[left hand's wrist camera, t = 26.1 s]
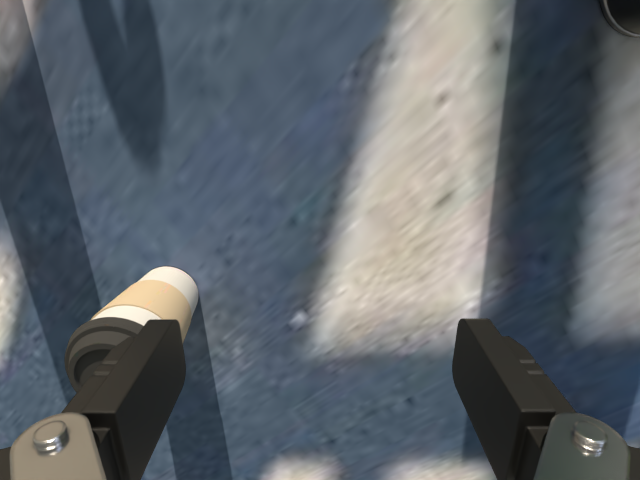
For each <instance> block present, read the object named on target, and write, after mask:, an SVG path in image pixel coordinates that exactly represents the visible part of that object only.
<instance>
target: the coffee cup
mask: <svg viewBox="0 0 640 480" xmlns="http://www.w3.org/2000/svg"><path fill="white" fill-rule="evenodd" d="M198 297H199V295H198V289H197V286H196V284H195V282H194V281H193V279H192V278H191V277H190V276H189V275H188V274H186V273H185V272H183V271H182V270H179V269H177V268H173V267H159V268H156V269H153V270H151V271H150V272H149V273H147V274H146V275H145V276H144V277H143V278H141V279H140V280H139V281H138V282H137V283H135V284H133V285H131V286H130V287H129V288H127V289H126V290H125V291H124V292H122V293H121V294H120V295H119V296H118V297H116V298H115V299H114V300H113V301H111V302H110V303H109V304H108V305H106V306H105V307H104V308H103V309H101V310H100V311H99V312H98V313H97V314H95V315H94V316H93V317H92V319H91V320H90V321H88V322H86V323H84V324H83V325H81V326H80V327H79V328H78V329H76V330H75V332H74V333H73V334H72V336H71V338H70V340H69V342H68V346H67V349H66V353H65V368H66V372H67V375H68V377H69V380H70V383H71V385H72V387H73V388H74V390H75V391H76V392H78V391H79V390H80V389H81V387H82V386H83V385H84V384H85V382H86V381H87V380H88V378H89V377H90V376H91V375H93V372H94V371H95V370H96V368H97V367H98V366H99V365H100V364H102V361H103V360H104V358H105V357H106V356H107V354H108V353H109V352H110V351H111V349H112V348H114V347H115V346H117V345H118V344H119V343H121V342H122V341H124V340H125V339H127V338H128V337H136V336H137V335H138V333H139V332H140V330H141V329H142V328H143V326H144V325H145V324H146V322H147V321H148V320H150V319H176V320H178V322H179V324H180V329H181V336H182V343H183V342H184V339H185V337H186V334H187V331H188V328H189V326H190V323H191V318H192V316H193V313H194V311H195V308H196V305H197V303H198Z"/></svg>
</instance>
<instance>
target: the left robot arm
mask: <svg viewBox="0 0 640 480" xmlns="http://www.w3.org/2000/svg"><path fill="white" fill-rule="evenodd" d="M600 5H601V9H602V12H603V14H604V16H605V18H606V20H607V21H608V23H609V24H610V25H611V26H612V27H613V28H614V29H615V30H617V31H618V32H620V33H621V34H624V35H626V36H630V37H640V0H600ZM185 373H186V364H185V357H184V350H183V343H182V336H181V329H180V324H179V322H178V320H176V319H150V320H148V321H147V322H146V324H145V325H144V326H143V328H142V329H141V330H140V332H139V333H138V335H137V336H136V337H128V338H127V339H125V340H124V341H122V342H121V343H119V344H118V345H117V346H115V347H114V348H112V349H111V351H110V352H109V353H108V354H107V356H106V357H105V358H104V360H103V361H102V364H100V365H99V366H98V367H97V368H96V370H95V371H94V372H93V375H91V376H90V377H89V378H88V380H87V381H86V382H85V384H84V385H83V386H82V387H81V389H80V390H79V391H78V392H77V394H76V395H75V396H74V397H73V399H72V400H71V401H70V402H69V404H68V405H67V406H66V407H65V409H64V410H63V411H62V413H60V414H56V415H53V416H50V417H47V418H45V419H43V420H41V421H39V422H37V423H35V424H33V425H32V426H30V427H29V428H28V429H26V430H25V431H24V432H23V433H22V434H21V435H20V436H19V437H18V438H17V439H16V440H15V442H14V443H13V445H12V447H8V448H4V449H0V480H141V477H142V475H143V473H144V471H145V469H146V466H147V464H148V462H149V460H150V458H151V455H152V453H153V451H154V449H155V447H156V444H157V442H158V440H159V438H160V436H161V434H162V431H163V429H164V427H165V425H166V423H167V420H168V418H169V416H170V414H171V412H172V409H173V407H174V405H175V403H176V401H177V398H178V396H179V394H180V392H181V390H182V387H183V384H184V380H185ZM452 373H453V380H454V384H455V387H456V389H457V391H458V393H459V396H460V398H461V400H462V402H463V405H464V407H465V409H466V411H467V413H468V416H469V418H470V420H471V422H472V424H473V427H474V429H475V431H476V433H477V436H478V438H479V440H480V442H481V444H482V447H483V449H484V451H485V453H486V456H487V458H488V460H489V462H490V464H491V467H492V469H493V471H494V473H495V475H496V478H497V480H640V449H638V448H634V447H630V446H628V445H627V443H626V442H625V440H624V439H623V438H622V437H621V436H620V435H619V434H618V433H617V432H616V431H615V430H614V429H612V428H611V427H610V426H608V425H607V424H605V423H603V422H601V421H599V420H597V419H595V418H593V417H590V416H587V415H584V414H580V413H576V412H575V410H574V409H573V408H572V407H571V405H570V404H569V403H568V401H567V400H566V399H565V398H564V396H563V395H562V394H561V393H560V391H559V390H558V389H557V387H556V386H555V385H554V384H553V382H552V381H551V380H550V379H549V377H548V376H547V375H546V374H544V371H543V370H542V368H541V367H540V366H539V365H538V363H536V362H535V359H534V358H533V357H532V356H531V354H530V353H529V352H528V351H527V349H526V348H525V347H524V346H522V345H521V344H519V343H518V342H516V341H515V340H513V339H512V338H511V337H509V336H501V334H500V333H499V332H498V330H497V329H496V328H495V326H494V325H493V323H492V322H491V321H490V320H489V319H460V321H459V323H458V327H457V335H456V342H455V349H454V356H453V364H452Z"/></svg>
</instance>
